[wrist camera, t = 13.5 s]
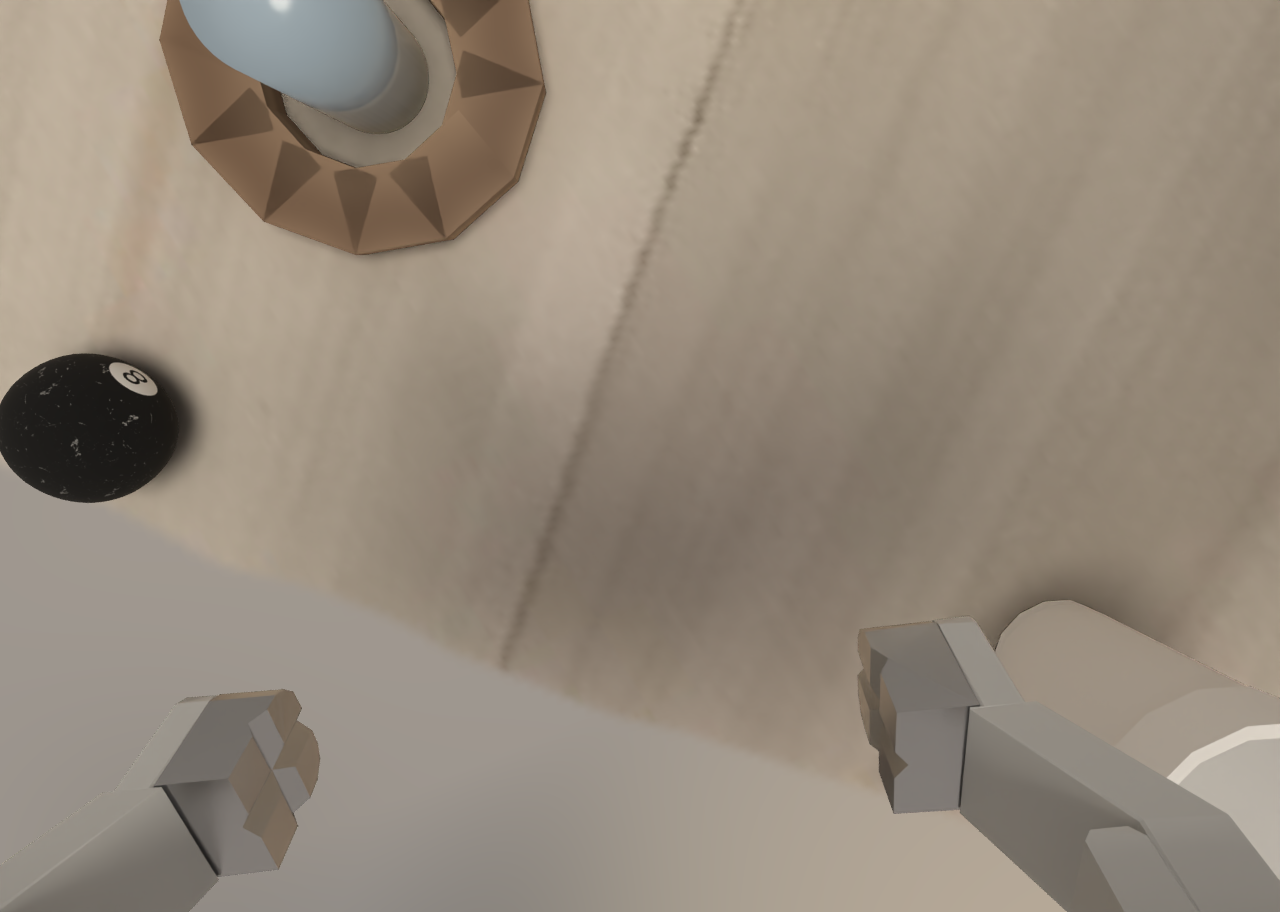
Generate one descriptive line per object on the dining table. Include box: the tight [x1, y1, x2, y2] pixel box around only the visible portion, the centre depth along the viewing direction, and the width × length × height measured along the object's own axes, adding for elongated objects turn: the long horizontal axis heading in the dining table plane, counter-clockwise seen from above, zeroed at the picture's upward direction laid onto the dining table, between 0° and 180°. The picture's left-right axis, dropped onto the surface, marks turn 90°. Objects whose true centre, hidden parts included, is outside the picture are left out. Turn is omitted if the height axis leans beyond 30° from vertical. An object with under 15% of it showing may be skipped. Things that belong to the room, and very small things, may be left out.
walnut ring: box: [159, 0, 546, 255], centre depth 31 cm, size 14×14×2 cm
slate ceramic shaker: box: [180, 0, 429, 134], centre depth 27 cm, size 5×5×11 cm
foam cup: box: [995, 600, 1280, 880], centre depth 35 cm, size 10×9×13 cm
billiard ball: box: [0, 354, 178, 503], centre depth 32 cm, size 6×6×6 cm
